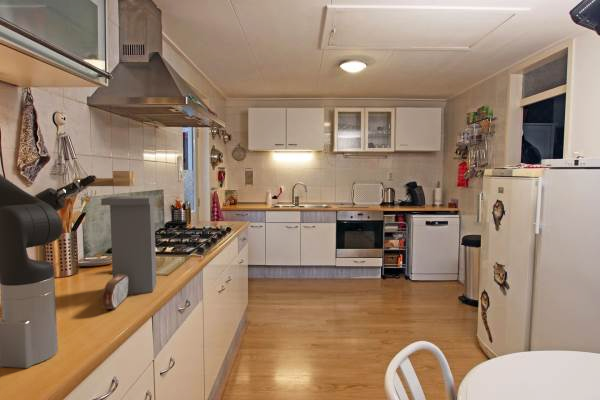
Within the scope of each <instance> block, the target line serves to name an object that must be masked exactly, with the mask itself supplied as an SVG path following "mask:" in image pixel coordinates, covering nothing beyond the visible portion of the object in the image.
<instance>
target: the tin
mask: <svg viewBox="0 0 600 400" xmlns="http://www.w3.org/2000/svg"><path fill="white" fill-rule="evenodd" d="M128 291H129V277H128V276H127V275H120V274H118V275H116V276H115V277H114V278H113V277H112V278H111V279H109V280H108V281H107V282H106V284H105V285H104V288H103V292H102V297H101V300H102V301H101V302H102V306H103V309H104V310H115V309H117V308H118V307H119V306H120V305H122V303H123V302H124V301H126V299H127V297H128V295H129V294H128Z"/></svg>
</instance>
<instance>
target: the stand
mask: <svg viewBox="0 0 600 400" xmlns="http://www.w3.org/2000/svg"><path fill="white" fill-rule="evenodd" d="M155 201H156V198H155V195H121V196H120V195H118V196H117V195H115V196H113V195H112V196H108V197H104V198H101V199H100V202H101V203H100V205H101V206H109V213H110V215H109V217H110V219H109V220H110V237H111V238H110V241H111V244H110V245H111V264H112V268H111V269H112V278H114V277H115V276H116V275H118V274H120V275H127V276H128V277H129V291H128V295H134V294H135V295H136V294H137V295H138V294H146V293H147V294H148V293H153V292H154V290H155V288H156V286H157V261H156V259H157V257H156V234H155V233H156V231H155V230H156V228H155V227H156V226H155V225H156V223H155Z"/></svg>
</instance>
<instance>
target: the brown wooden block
mask: <svg viewBox="0 0 600 400" xmlns="http://www.w3.org/2000/svg"><path fill="white" fill-rule="evenodd" d="M84 178H85V177H83V178H81V177H78V178H73V182H77V181H79V180H82V179H84ZM94 179H95V181H94V182H92V183H90V184H88V185H86V186H88V187H134V186H136V185H135V184H136V183H135V171H134V170H133V171H132V170H112V178H110V177H108V178H106V177H105V178H103V177H102V178H101V177H98V178H97V177H96V178H94Z"/></svg>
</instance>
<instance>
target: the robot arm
mask: <svg viewBox="0 0 600 400" xmlns="http://www.w3.org/2000/svg"><path fill="white" fill-rule="evenodd" d="M83 178H84V179H82V180H79V181H77V182H74V181H72V182H70V183H67V185H64V186H61V187H59V188H57V189H54V188H52V187H49V188H46V189H44V190H42V191H41V192H40V191H39V193H36V194H34V195H32V194H30V193H28V192H26V191H25V190H23V189H21V188H20V187H19V186H18V185H16V184H15V183H13V181H10V180H9V179H8V178H6V177H5V176H4V175H2V174H1V173H0V303H1V304H0V307H1V320H0V368H1V367H2V368H20V369H21V368H23V369H27V368H30V367H32V366H33V365H36V364H39V363H42V362H44V361H47V360H49V359H50V358H52V357H54V356H55V355H56V354H57V353H58V351H59V346H58V345H59V344H58V342H59V341H58V326H57V325H58V324H57V310H56V309H57V308H56V307H57V302H56V290H55V289H56V286H55V268H54V264H53V263H51V262H50V261H45V260H37V259H32V258H30V257H29V255H28V250H27V249H28V248H29V249H30V248H35V247H41V246H45V245H49V244H51V243H53V242H56V241H57V240H59V238H60V237H61V236H62V233H63V230H64V225H63V220H62V218H61V216H60V214H59V213H58V211H60V210H62V209H64V208H65V207H66V202H65V200H70V199H71V198H74V197H75V196H76V195H78V194H80V193H81V192H83V191H84V190H86V189H88V188H89V186H86V185H88V184H90V183H92V182H94V181H95V179H94V178H97V176H96V175H92V174H91V175H88V176H86V177H83Z"/></svg>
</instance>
